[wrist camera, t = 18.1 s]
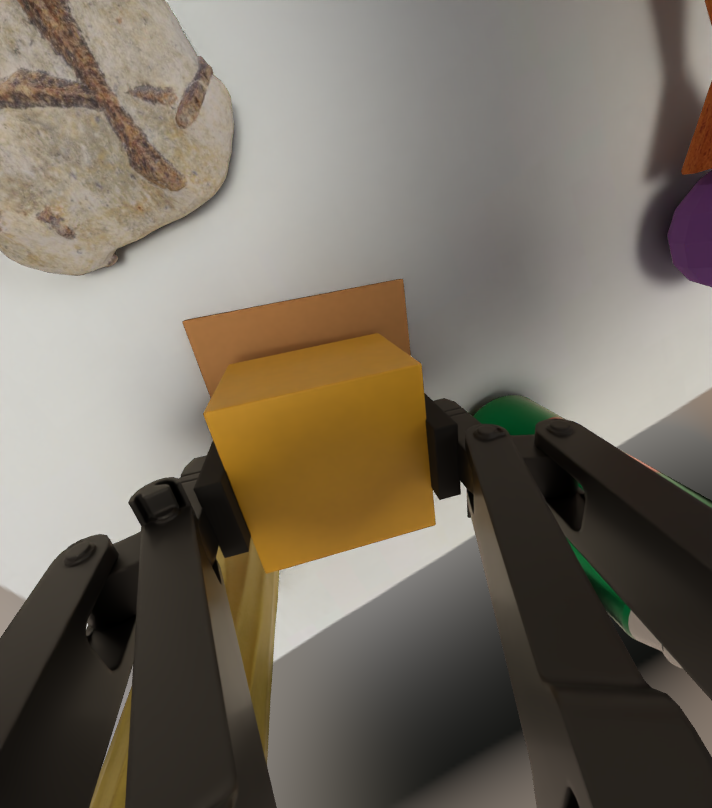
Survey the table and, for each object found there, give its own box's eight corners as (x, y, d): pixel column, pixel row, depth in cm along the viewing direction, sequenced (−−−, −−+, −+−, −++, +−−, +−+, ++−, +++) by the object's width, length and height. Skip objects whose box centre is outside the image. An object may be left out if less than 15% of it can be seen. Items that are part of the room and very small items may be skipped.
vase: (155, 574, 20) (-96, 1168, 7) (204, 497, 18) (9, 1052, 5) (251, 601, 22) (199, 1087, 9) (300, 534, 21) (325, 991, 8)
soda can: (448, 413, 19) (659, 606, 8) (528, 377, 19) (839, 523, 9) (468, 478, 21) (656, 700, 11) (540, 445, 22) (800, 632, 11)
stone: (112, -82, 10) (58, -189, 8) (269, 163, 13) (264, 140, 11) (-113, 117, 11) (-226, 75, 9) (84, 307, 14) (41, 316, 12)
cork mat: (400, 278, 16) (403, 278, 16) (418, 455, 20) (421, 458, 20) (184, 320, 15) (181, 321, 15) (250, 498, 19) (249, 502, 19)
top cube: (378, 332, 15) (422, 363, 10) (395, 456, 17) (436, 525, 13) (228, 364, 14) (201, 413, 9) (269, 489, 16) (265, 574, 12)
